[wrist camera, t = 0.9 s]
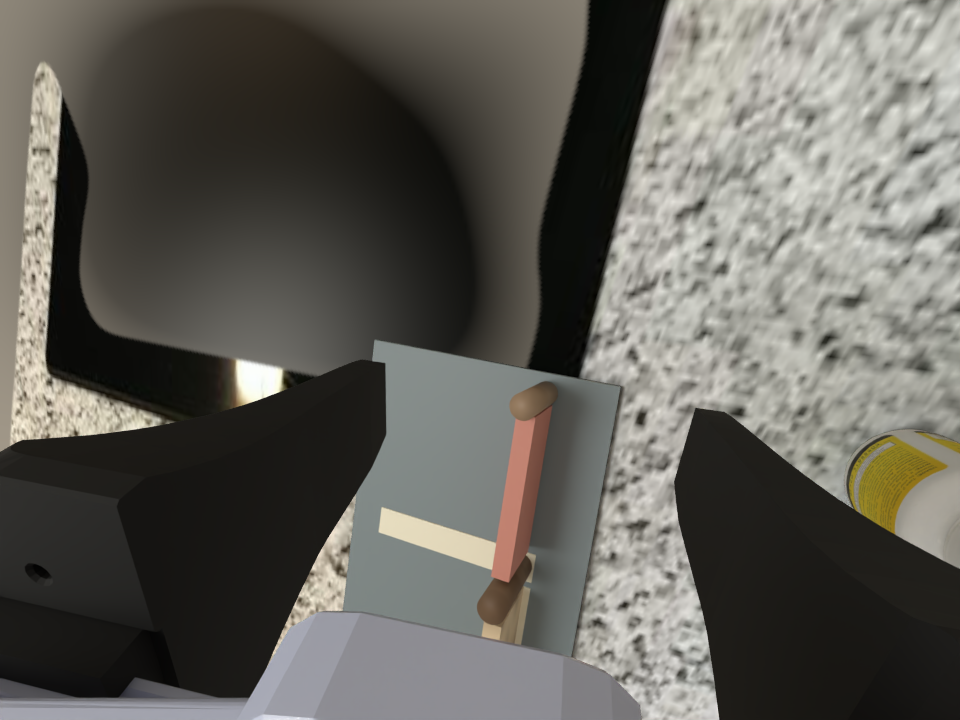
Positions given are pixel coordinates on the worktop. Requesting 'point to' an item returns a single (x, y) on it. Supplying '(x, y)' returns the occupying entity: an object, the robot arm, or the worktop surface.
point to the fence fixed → (503, 604)
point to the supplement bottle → (910, 488)
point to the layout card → (475, 495)
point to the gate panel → (523, 476)
